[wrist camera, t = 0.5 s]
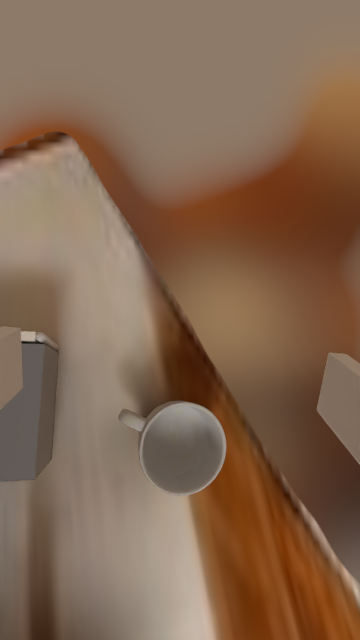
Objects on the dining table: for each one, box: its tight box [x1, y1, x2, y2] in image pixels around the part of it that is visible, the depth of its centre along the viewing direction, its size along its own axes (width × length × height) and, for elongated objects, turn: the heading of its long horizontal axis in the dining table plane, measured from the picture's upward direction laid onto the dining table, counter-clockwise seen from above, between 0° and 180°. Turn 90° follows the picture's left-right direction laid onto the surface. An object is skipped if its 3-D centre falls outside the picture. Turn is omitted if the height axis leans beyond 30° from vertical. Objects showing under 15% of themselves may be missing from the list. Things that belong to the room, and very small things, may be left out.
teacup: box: [119, 401, 226, 496], centre depth 43 cm, size 14×11×8 cm
